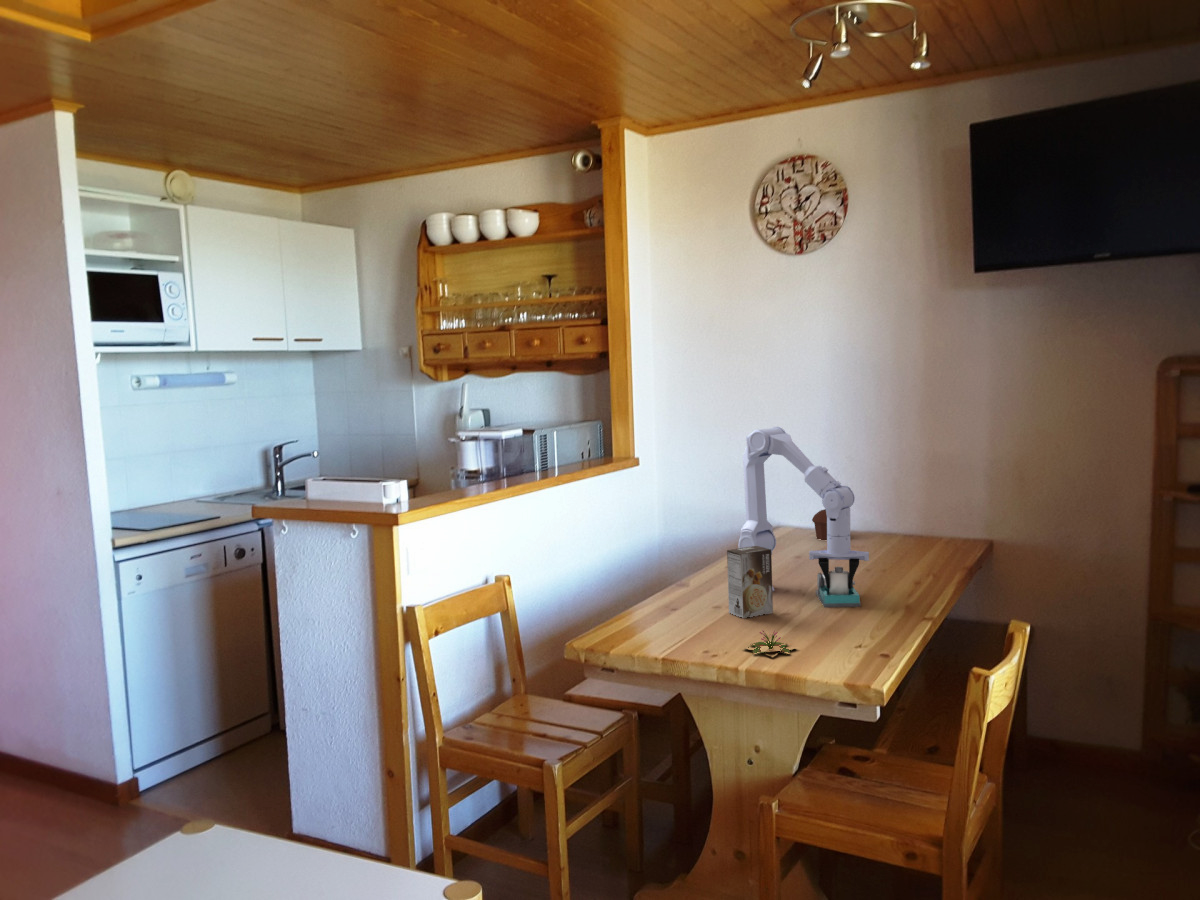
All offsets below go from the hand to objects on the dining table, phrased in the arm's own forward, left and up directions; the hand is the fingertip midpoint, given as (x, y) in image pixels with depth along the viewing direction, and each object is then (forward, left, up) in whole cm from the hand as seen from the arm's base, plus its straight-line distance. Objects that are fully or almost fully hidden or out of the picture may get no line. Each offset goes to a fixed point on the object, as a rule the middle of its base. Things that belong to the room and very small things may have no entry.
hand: (839, 587), depth 244 cm
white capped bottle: (0, 0, -2) cm, 2 cm away
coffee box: (-23, -9, -4) cm, 25 cm away
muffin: (+11, +84, -4) cm, 85 cm away
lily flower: (-21, -39, -5) cm, 44 cm away
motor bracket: (0, +3, -4) cm, 5 cm away
